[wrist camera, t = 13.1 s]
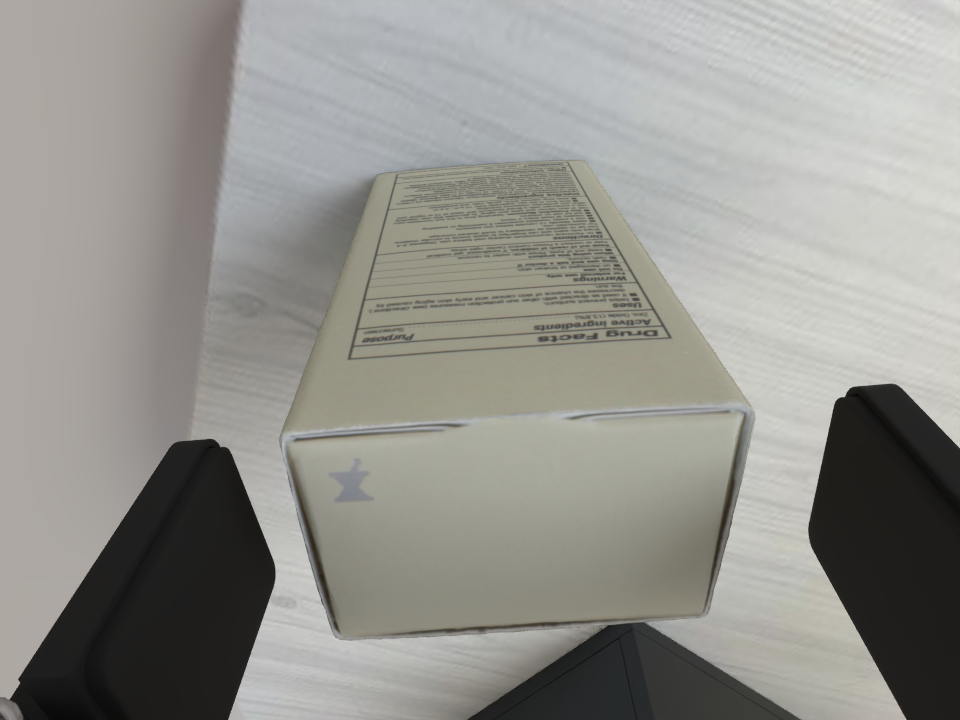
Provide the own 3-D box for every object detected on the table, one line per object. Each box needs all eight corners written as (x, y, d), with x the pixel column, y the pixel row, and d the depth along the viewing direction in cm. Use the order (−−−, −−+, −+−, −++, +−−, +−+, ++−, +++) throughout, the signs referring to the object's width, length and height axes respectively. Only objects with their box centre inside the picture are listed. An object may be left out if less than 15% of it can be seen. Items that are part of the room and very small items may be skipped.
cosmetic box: (392, 305, 21) (310, 652, 10) (374, 168, 19) (244, 435, 8) (594, 294, 21) (717, 636, 10) (600, 155, 18) (766, 411, 8)
